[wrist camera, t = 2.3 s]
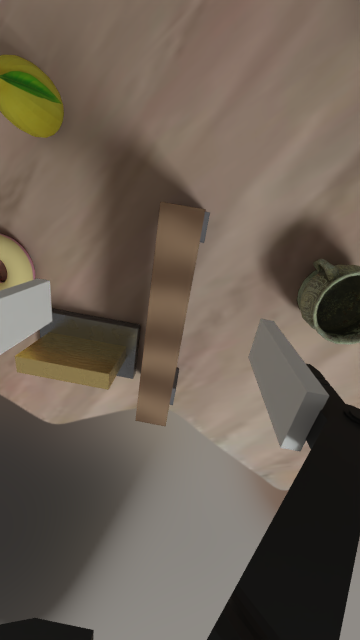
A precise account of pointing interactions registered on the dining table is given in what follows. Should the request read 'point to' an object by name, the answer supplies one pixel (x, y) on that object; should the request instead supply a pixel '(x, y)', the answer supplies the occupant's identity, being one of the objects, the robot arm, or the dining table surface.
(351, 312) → the vessel
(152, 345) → the beam
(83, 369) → the yellow block on tray
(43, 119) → the lemon
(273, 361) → the robot arm
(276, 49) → the dining table surface
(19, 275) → the donut
